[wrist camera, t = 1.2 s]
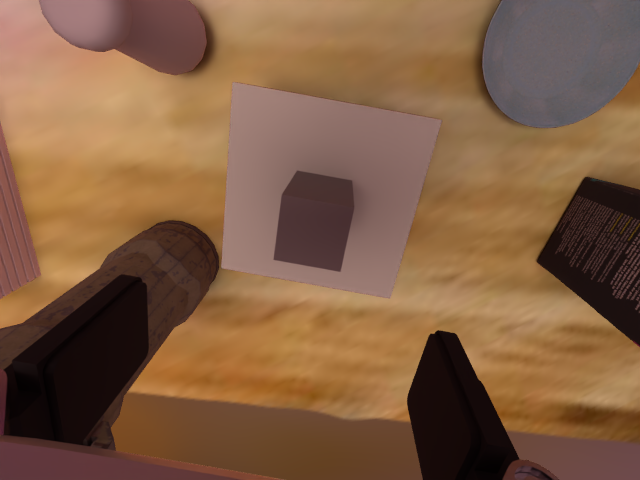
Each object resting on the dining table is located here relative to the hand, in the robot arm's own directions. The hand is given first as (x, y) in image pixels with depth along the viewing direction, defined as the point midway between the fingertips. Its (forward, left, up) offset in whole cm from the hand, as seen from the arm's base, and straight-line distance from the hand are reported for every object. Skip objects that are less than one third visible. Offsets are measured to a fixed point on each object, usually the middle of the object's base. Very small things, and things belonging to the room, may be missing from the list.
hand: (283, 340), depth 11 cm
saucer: (-16, -14, -24) cm, 32 cm away
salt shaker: (+14, -10, -24) cm, 29 cm away
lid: (0, 0, -17) cm, 17 cm away
